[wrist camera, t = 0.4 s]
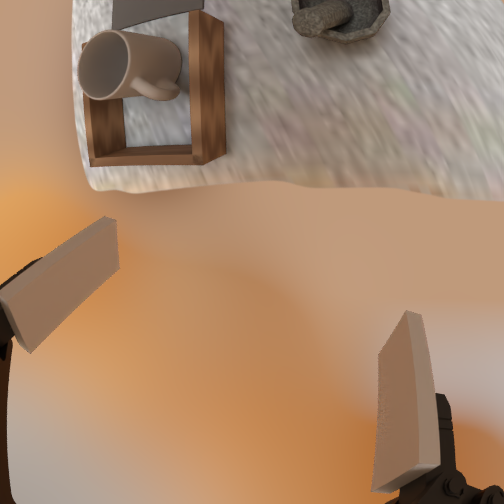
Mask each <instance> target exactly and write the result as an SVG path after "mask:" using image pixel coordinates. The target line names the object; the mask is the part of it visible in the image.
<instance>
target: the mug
mask: <svg viewBox="0 0 504 504" xmlns="http://www.w3.org/2000/svg"><path fill="white" fill-rule="evenodd" d="M181 65H182V59H181V54H180V52H179V49H178V48H177V46H176V45H175V44H174V43H172V42H171V41H169V40H167V39H165V38H160V37H154V36H149V35H143V34H138V33H132V32H126V31H120V30H105V31H102V32H99V33H98V34H96V35H95V36H93V37H92V38H91V39H90V40H89V41H88V42H87V44H86V45H85V47H84V48H83V50H82V52H81V55H80V58H79V61H78V67H77V76H78V81H79V85H80V87H81V89H82V91H83V92H84V93H85V94H86V95H87V96H88V97H90V98H92V99H95V100H108V99H117V98H126V97H136V96H146V97H148V98H150V99H153V100H159V101H167V100H172V99H174V98H176V97H177V96H178V95H179V93H180V89H179V87H178V86H177V85H176V84H175V82H176V80H177V78H178V76H179V74H180V71H181Z"/></svg>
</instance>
